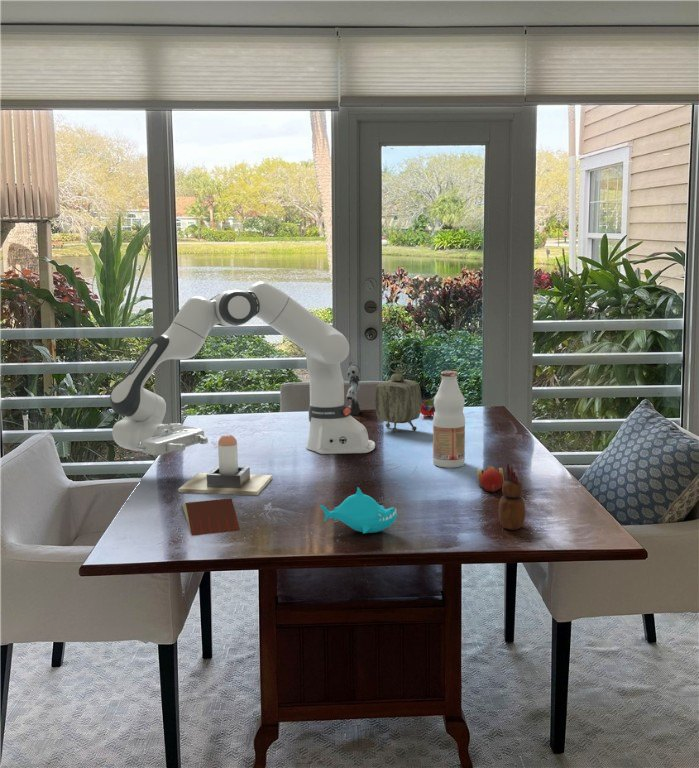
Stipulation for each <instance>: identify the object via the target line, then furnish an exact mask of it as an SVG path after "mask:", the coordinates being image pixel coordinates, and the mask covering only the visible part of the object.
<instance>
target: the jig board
mask: <svg viewBox="0 0 699 768" xmlns="http://www.w3.org/2000/svg"><path fill="white" fill-rule="evenodd" d="M208 473H209V472H197V473H196V474H195V475H193V476H192V477H191V478H190V479H188V480H187V481H186V482H184V484H183V485H181V486H180V487H179V488H178V493H184V494H185V493H186V494H189V493H191V494H215V495H242V496H243V495H246V496H247V495H249V496H250V495H251V496H258V495H259V494H260V493H262V491H263V490H264V488H266V486H267V485H268V484H269V483H270V482H271V480H272V479H273V474H251V473H250V479H249V480H248V481H247V482H246V483H245V484H244V485H243V486H242V487H241V488H215V487H207V474H208Z"/></svg>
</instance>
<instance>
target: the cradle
mask: <svg viewBox="0 0 699 768" xmlns="http://www.w3.org/2000/svg"><path fill="white" fill-rule="evenodd" d="M207 473H208V474H207V487H215V488H241V487H242V486H243V485H244V484H245V483H246V482H247V481H248V480H249V479H250V474H251V467H250V466H245V465H244V466H243V465H242V466H241V465H240V466H239V465H238V474H219V465H216V466H215V467H214V468H213V469H212V470H210V471H209V472H207Z"/></svg>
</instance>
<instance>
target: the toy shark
mask: <svg viewBox="0 0 699 768" xmlns="http://www.w3.org/2000/svg"><path fill="white" fill-rule="evenodd" d="M319 507H320V508H321V509H322V511H323V512H324V519H323V521H324V522H326V521H327V520H328V519H333V521H337V520H338V521H340V522H342V523H343V524H345V525H346V526H348V527H349V528H351V529H352V530H354V531H356V532H360V533H362V534H372V533H374V534H375V533H378V532H382V531H384V530H385V529H387V528H389V527H390V526H392V525H393V524H394V523H395V521H396V520H397V518H398V513H397V508H396V507H395V506H393V507H392V506H391V507H390V508H385V506H384V505H380V504H379V502H377V501H376V499H374V498H373V497H372V496H370V495H367V494H364V493H363V492H362V490H361V489H360V487H358V486H357V487H356V493H354V494H352V495H350V496H347V497H346V498H345V499H344V500H343V501H342V502H341V503H340V504H339V505H338V506H334V509H333V510H328V509H327V507H326V506H325V505H322V504H320V505H319Z"/></svg>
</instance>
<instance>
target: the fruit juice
mask: <svg viewBox="0 0 699 768" xmlns="http://www.w3.org/2000/svg"><path fill="white" fill-rule="evenodd" d="M440 378H441V382H440V384H439V387H438V390H437V392H436V394H435V395H434V396H435V397H434V396H433V397H434V407H435V412H434V416H433V417H432V419H433V421H432V433H433V434H432V462H433V464H434V466H435V467H439V468H445V469H446V468H449V469H451V468H452V469H453V468H454V469H455V468H459V467H462V466H464V464H465V462H466V461H465V460H466V459H465V457H466V455H465V454H466V453H465V452H466V451H465V449H466V447H465V446H466V445H465V444H466V438H465V437H466V436H465V435H466V430H465V429H466V418H465V414H464V407H465V405H466V403H465V397H464V395H463V393H462V391H461V388H460V386H459V383H458V371H455V370H443V371H441V372H440Z"/></svg>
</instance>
